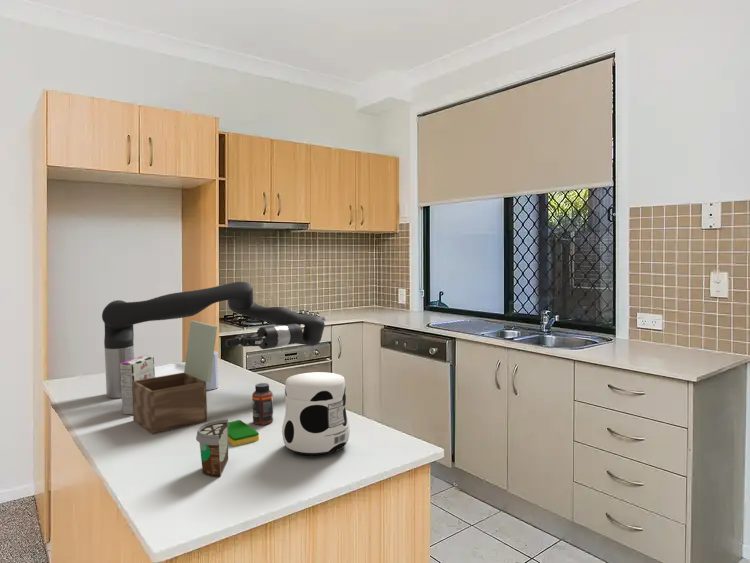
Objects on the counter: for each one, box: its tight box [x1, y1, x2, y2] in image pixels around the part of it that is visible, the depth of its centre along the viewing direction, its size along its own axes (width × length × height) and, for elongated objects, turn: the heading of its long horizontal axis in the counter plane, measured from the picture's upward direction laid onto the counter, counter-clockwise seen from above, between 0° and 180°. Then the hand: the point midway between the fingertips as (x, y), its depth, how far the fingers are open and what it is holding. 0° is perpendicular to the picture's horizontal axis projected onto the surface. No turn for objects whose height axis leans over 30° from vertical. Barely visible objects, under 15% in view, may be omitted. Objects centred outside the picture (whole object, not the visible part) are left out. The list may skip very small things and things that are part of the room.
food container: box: [195, 418, 229, 478], centre depth 126 cm, size 12×6×10 cm, turn 5°
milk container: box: [281, 371, 351, 456], centre depth 138 cm, size 17×17×18 cm
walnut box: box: [132, 372, 208, 435], centre depth 160 cm, size 16×16×12 cm
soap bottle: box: [191, 350, 220, 391], centre depth 198 cm, size 13×8×20 cm, turn 58°
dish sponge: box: [228, 419, 260, 447], centre depth 148 cm, size 7×14×2 cm, turn 35°
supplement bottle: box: [251, 382, 274, 426], centre depth 159 cm, size 6×6×11 cm
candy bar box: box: [120, 355, 155, 416], centre depth 171 cm, size 11×5×16 cm, turn 168°
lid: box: [184, 320, 218, 382], centre depth 166 cm, size 17×17×1 cm
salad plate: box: [154, 362, 185, 377], centre depth 212 cm, size 21×21×3 cm
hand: (226, 343), depth 172 cm, fingers closed
